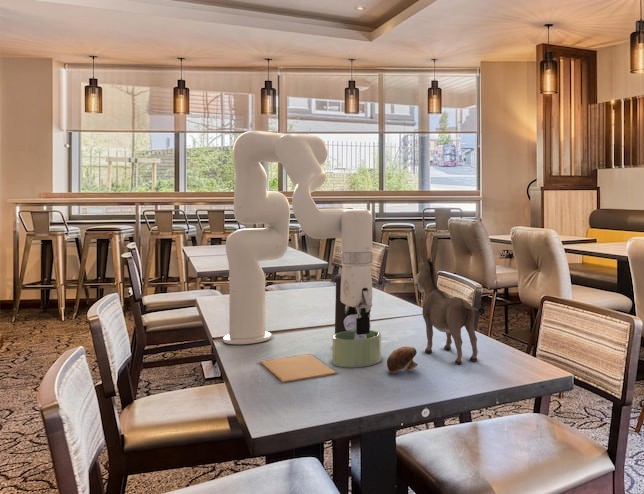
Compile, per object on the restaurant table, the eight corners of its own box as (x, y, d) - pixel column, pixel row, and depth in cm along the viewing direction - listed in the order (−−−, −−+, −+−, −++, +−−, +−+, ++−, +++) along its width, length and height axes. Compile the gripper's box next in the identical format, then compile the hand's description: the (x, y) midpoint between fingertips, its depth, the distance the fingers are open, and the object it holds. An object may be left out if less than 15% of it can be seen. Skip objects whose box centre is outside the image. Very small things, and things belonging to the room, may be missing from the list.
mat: (260, 362, 153) (260, 361, 153) (309, 355, 159) (309, 354, 159) (283, 382, 136) (283, 380, 136) (336, 373, 143) (336, 372, 143)
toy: (429, 340, 176) (429, 234, 176) (499, 367, 148) (499, 241, 149) (403, 344, 171) (403, 235, 171) (471, 372, 143) (471, 242, 144)
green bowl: (326, 359, 155) (326, 333, 156) (369, 353, 162) (369, 327, 162) (342, 370, 146) (342, 342, 146) (388, 362, 152) (388, 336, 152)
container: (370, 343, 173) (370, 271, 173) (360, 351, 164) (360, 275, 164) (340, 342, 173) (340, 271, 174) (328, 350, 165) (328, 275, 165)
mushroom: (430, 355, 147) (414, 334, 146) (416, 376, 139) (398, 355, 139) (407, 367, 150) (391, 347, 149) (392, 388, 143) (375, 367, 142)
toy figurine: (343, 357, 157) (343, 309, 157) (369, 355, 158) (369, 308, 158) (343, 363, 150) (343, 313, 150) (370, 362, 151) (370, 312, 152)
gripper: (330, 257, 159) (330, 327, 159) (355, 262, 145) (355, 339, 145) (358, 255, 163) (358, 324, 163) (385, 260, 149) (385, 335, 149)
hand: (357, 330), depth 154 cm, fingers closed on toy figurine, 6 cm apart
